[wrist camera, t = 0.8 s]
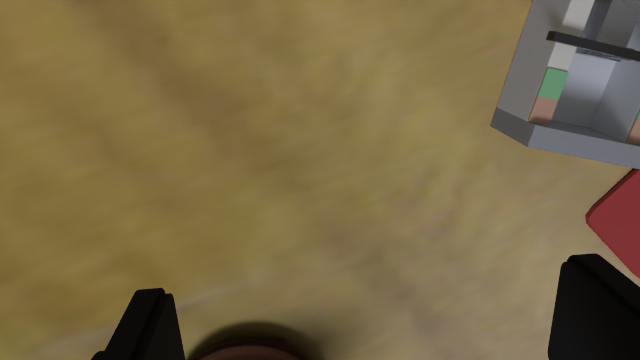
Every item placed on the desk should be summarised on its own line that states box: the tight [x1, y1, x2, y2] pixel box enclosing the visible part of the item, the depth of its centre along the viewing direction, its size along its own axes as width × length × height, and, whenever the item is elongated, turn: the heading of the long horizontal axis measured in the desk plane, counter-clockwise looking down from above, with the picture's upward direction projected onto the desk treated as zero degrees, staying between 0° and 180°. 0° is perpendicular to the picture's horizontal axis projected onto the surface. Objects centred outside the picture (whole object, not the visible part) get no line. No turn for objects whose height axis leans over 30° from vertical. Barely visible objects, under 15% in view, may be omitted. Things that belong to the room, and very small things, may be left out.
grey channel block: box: [546, 0, 640, 62], centre depth 33 cm, size 8×12×5 cm
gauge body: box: [490, 0, 640, 169], centre depth 35 cm, size 11×10×6 cm
